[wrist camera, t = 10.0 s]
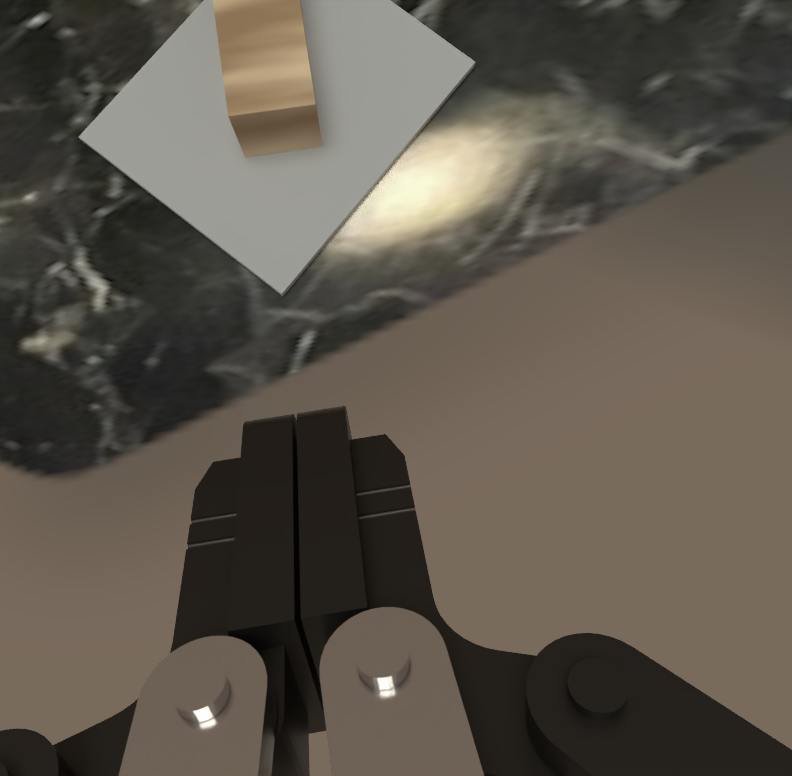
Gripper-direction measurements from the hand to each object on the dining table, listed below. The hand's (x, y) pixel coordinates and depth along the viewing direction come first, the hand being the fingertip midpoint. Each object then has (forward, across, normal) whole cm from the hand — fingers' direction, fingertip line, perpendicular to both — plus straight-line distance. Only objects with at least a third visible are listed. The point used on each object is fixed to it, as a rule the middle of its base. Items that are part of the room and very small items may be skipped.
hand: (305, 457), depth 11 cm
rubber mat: (+36, +1, +4) cm, 36 cm away
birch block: (+32, +2, +4) cm, 32 cm away
